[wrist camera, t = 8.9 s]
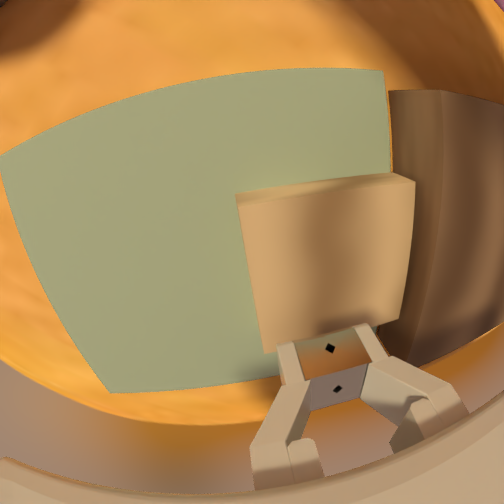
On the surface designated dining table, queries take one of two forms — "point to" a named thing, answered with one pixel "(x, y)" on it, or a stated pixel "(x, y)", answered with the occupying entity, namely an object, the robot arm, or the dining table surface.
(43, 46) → the dining table surface
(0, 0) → the cupcake
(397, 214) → the coaster
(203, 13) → the dining table surface
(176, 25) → the dining table surface
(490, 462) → the robot arm
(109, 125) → the mat
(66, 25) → the dining table surface
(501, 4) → the smartphone
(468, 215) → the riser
